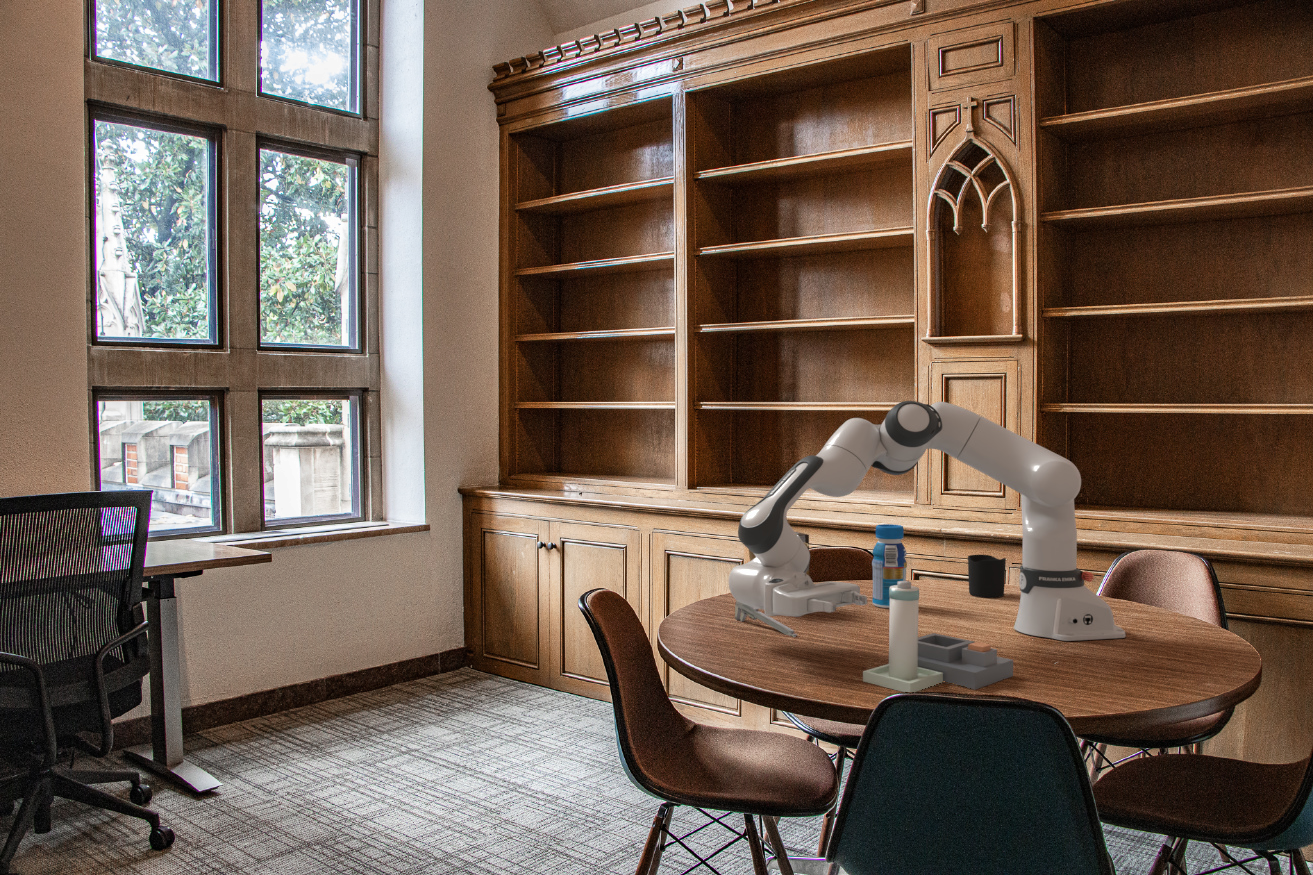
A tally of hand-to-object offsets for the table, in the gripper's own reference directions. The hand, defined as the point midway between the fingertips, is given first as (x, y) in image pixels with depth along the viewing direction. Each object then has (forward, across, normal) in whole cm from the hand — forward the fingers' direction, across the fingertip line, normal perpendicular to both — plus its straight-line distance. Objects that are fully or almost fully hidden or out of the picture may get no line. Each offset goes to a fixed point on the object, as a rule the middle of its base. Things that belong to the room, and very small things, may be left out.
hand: (849, 604), depth 180 cm
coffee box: (-56, -48, -12) cm, 75 cm away
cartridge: (+12, 0, -11) cm, 16 cm away
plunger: (+20, -12, -9) cm, 25 cm away
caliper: (-33, -12, -13) cm, 38 cm away
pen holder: (-20, -84, -12) cm, 87 cm away
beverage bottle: (-29, -54, -12) cm, 62 cm away
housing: (+14, -12, -12) cm, 22 cm away
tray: (+12, 0, -12) cm, 17 cm away
